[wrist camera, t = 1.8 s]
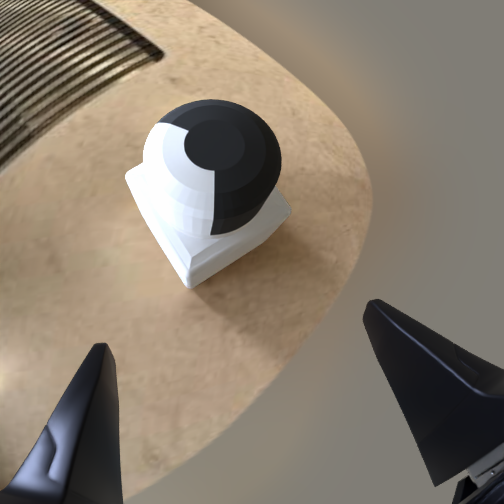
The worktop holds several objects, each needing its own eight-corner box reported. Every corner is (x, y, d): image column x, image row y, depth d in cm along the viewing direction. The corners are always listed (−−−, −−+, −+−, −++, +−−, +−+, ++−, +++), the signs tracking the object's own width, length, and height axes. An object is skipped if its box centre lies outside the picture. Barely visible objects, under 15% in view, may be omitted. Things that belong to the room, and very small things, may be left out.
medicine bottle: (217, 168, 25) (239, 64, 13) (267, 240, 24) (330, 174, 13) (140, 212, 23) (102, 124, 12) (188, 291, 23) (183, 264, 11)
